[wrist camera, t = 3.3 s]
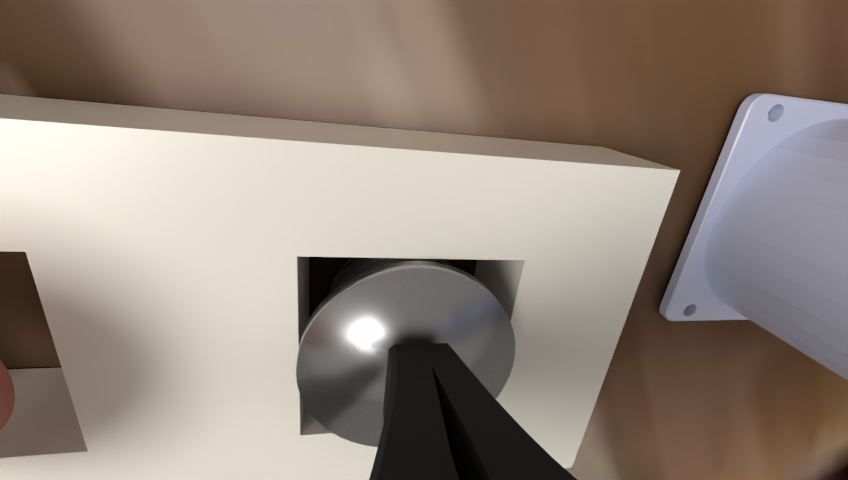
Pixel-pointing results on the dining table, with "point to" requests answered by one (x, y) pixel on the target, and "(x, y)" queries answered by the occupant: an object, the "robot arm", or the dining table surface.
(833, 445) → the dining table surface
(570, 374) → the socket block
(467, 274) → the grey plug
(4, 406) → the red plug
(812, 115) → the robot arm
